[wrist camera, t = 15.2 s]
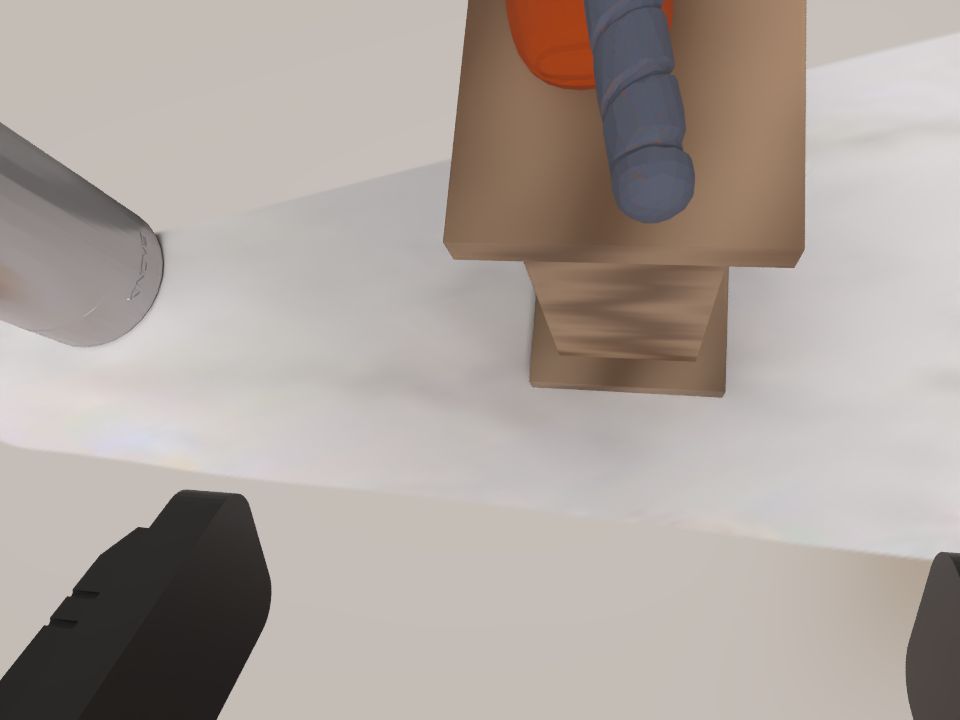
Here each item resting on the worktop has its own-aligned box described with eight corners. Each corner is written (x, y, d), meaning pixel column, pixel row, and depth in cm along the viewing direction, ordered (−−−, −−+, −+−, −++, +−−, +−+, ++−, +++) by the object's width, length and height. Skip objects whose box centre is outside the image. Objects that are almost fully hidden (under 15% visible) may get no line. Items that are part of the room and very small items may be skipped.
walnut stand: (532, 387, 45) (443, 241, 24) (547, 199, 48) (477, -82, 26) (722, 397, 43) (804, 249, 22) (727, 201, 46) (807, -102, 24)
